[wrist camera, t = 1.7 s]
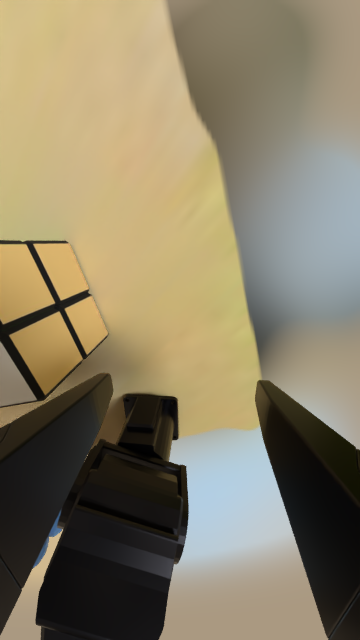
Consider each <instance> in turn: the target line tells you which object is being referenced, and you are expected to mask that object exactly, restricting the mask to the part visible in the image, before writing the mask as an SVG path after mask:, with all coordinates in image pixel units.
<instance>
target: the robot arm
mask: <svg viewBox="0 0 360 640" xmlns="http://www.w3.org/2000/svg"><path fill="white" fill-rule="evenodd" d="M112 395H113V385H112V379H111V375H110V374H109V373H99V374H98V375H96V376H94V377H92V378H90V379H89V380H87V381H85V382H83V383H81V384H79V385H78V386H76V387H74V388H72V389H70V390H69V391H67V392H65V393H63V394H61V395H60V396H58V397H56V398H54V399H52V400H51V401H49V402H47V403H45V404H43V405H42V406H40V407H38V408H36V409H34V410H32V411H31V412H29V413H27V414H25V415H23V416H22V417H20V418H18V419H16V420H14V421H13V422H12V423H9V424H7V425H5V426H3V427H2V428H0V635H1V633H2V631H3V629H4V627H5V625H6V622H7V620H8V618H9V616H10V614H11V612H12V610H13V608H14V606H15V604H16V602H17V600H18V598H19V596H20V594H21V591H22V588H23V587H24V585H25V583H26V581H27V579H28V576H29V574H30V572H31V570H32V568H33V566H34V564H35V562H36V560H37V558H38V556H39V554H40V552H41V550H42V548H43V546H44V543H45V541H46V539H47V537H48V535H49V533H50V531H51V529H52V527H53V525H54V523H55V521H56V519H57V517H58V515H59V512H60V510H61V514H60V517H59V520H58V524H57V528H60V529H63V532H62V534H61V537H60V539H59V541H58V544H57V546H56V549H55V551H54V553H53V556H52V558H51V561H50V563H49V565H48V568H47V570H46V573H45V576H44V582H43V584H42V586H41V588H40V591H39V596H38V605H37V613H36V625H38V626H41V640H158V639H159V637H160V635H161V633H162V630H163V627H164V620H165V613H166V606H167V599H168V591H169V586H170V581H171V576H172V571H173V565H174V564H177V563H178V562H179V560H180V558H181V555H182V552H183V548H184V544H185V539H186V533H187V526H188V491H187V473H186V466H184V465H178V464H174V463H171V462H169V457H170V450H171V443H172V440H177V439H178V437H179V427H178V400H177V398H175V397H163V396H145V395H125V397H124V399H123V401H124V408H125V414H126V421H125V424H124V426H123V428H122V431H121V433H120V435H119V438H118V440H117V443H116V445H115V444H112V443H109V442H106V440H103V439H100V441H99V442H98V444H97V446H94V448H93V449H91V450H90V448H91V446H92V444H93V442H94V440H95V438H96V436H97V434H98V432H99V430H100V427H101V425H102V422H103V419H104V417H105V414H106V411H107V408H108V406H109V403H110V400H111V397H112ZM172 401H174V402H172ZM255 402H256V407H257V412H258V417H259V422H260V426H261V431H262V436H263V440H264V444H265V447H266V450H267V453H268V456H269V459H270V463H271V465H272V469H273V472H274V475H275V478H276V481H277V484H278V487H279V490H280V494H281V497H282V500H283V502H284V506H285V509H286V512H287V515H288V518H289V521H290V525H291V527H292V531H293V534H294V537H295V540H296V543H297V546H298V549H299V552H300V555H301V558H302V562H303V565H304V568H305V571H306V574H307V577H308V580H309V583H310V587H311V590H312V593H313V596H314V599H315V602H316V605H317V608H318V611H319V614H320V617H321V621H322V624H323V627H324V630H325V633H326V635H327V637H328V638H329V639H328V640H360V450H359V449H356V447H355V446H354V445H352V444H351V443H350V442H348V441H347V440H346V439H344V438H343V437H342V436H341V435H339V434H338V433H337V432H335V431H334V430H333V429H331V428H330V427H329V426H328V425H326V424H325V423H324V422H322V421H321V420H320V419H318V418H317V417H316V416H314V415H313V414H312V413H311V412H309V411H308V410H307V409H305V408H304V407H303V406H301V405H300V404H299V403H298V402H296V401H295V400H294V399H292V398H291V397H290V396H288V395H287V394H286V393H285V392H283V391H282V390H281V389H279V388H278V387H277V386H275V385H274V384H273V383H271V382H270V381H268V380H259V381H258V382H257V387H256V395H255ZM89 450H90V452H89ZM88 453H89V454H88ZM87 455H88V456H87ZM86 457H87V458H86ZM61 508H62V509H61Z"/></svg>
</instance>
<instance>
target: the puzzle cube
mask: <svg viewBox="0 0 360 640" xmlns="http://www.w3.org/2000/svg"><path fill="white" fill-rule="evenodd" d="M88 291H89V287H88V285H87V282H86V280H85V278H84V275H83V273H82V271H81V268H80V266H79V264H78V262H77V259H76V257H75V255H74V252H73V250H72V248H71V245H70V243H68V242H66V241H24V242H21V241H9V240H0V408H2V407H8V406H14V405H20V404H25V403H31V402H37V401H43V400H45V399H46V398H47V397H48V396H49V395H50V394H51V393H52V392H53V391H54V390H55V389H56V388H57V387H58V386H59V385H60V384H61V383H62V382H63V381H64V380H65V379H66V378H67V377H68V376H69V375H70V374H71V373H72V372H73V371H74V370H75V369H76V368H77V367H78V366H79V365H80V364H81V362H82V360H83V359H86V358H87V357H88V356H89V355H90V354H91V353H92V352H93V351H94V350H95V349H96V348H97V347H98V346H99V345H100V344H101V343H102V342H103V341H104V340H105V339H106V338H107V336H108V331H107V329H106V327H105V324H104V322H103V320H102V317H101V315H100V313H99V311H98V308H97V306H96V304H95V301H94V299H93V297H92V295H91V294H89V293H88Z"/></svg>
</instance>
